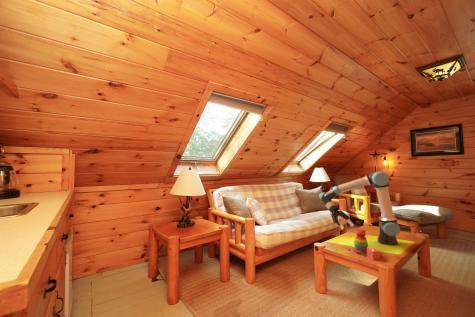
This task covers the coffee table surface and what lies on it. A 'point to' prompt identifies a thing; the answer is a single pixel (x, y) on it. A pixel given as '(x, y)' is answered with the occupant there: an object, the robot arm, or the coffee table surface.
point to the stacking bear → (360, 242)
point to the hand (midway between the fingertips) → (348, 227)
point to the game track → (363, 254)
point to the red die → (373, 254)
